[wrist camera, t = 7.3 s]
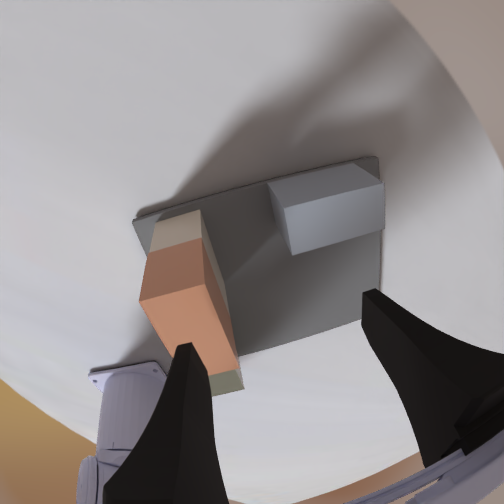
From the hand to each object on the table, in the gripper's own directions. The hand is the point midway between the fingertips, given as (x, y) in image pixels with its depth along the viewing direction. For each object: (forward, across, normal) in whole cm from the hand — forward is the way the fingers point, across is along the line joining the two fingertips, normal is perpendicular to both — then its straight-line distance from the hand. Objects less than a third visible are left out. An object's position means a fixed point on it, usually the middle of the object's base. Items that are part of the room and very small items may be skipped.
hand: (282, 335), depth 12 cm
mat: (+10, -2, +5) cm, 12 cm away
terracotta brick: (+6, +4, +1) cm, 7 cm away
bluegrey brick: (+10, -5, -1) cm, 11 cm away
